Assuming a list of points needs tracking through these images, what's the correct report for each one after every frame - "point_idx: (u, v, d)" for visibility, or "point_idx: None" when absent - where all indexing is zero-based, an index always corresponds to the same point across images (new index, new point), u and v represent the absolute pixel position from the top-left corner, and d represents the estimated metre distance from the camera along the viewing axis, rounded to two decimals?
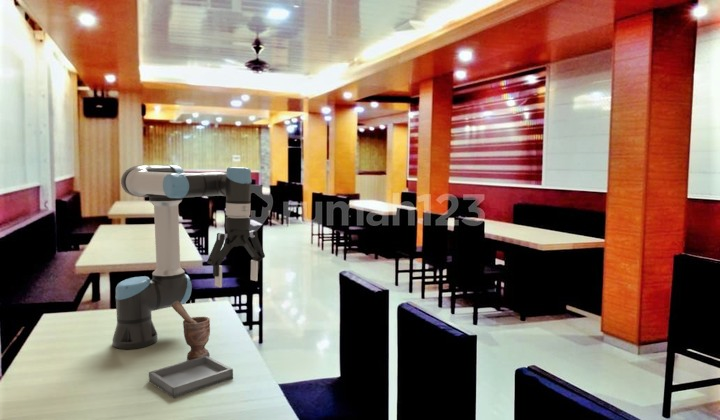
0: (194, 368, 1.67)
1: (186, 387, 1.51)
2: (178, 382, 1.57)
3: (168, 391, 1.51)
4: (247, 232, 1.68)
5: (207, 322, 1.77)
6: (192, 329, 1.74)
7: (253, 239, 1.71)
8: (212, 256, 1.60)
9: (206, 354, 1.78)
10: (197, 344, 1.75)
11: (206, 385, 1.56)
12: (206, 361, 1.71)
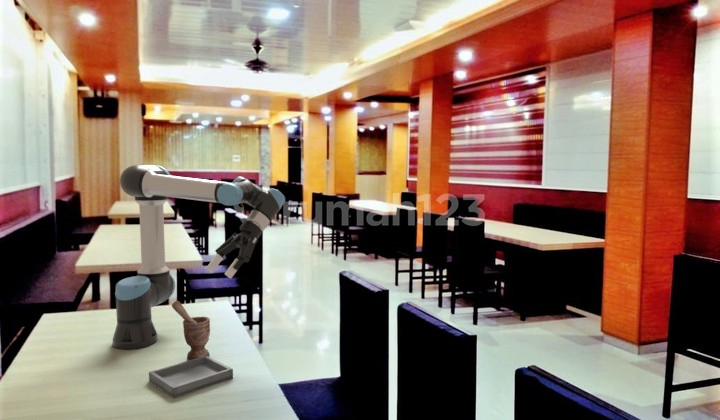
0: (194, 368, 1.67)
1: (186, 387, 1.51)
2: (178, 382, 1.57)
3: (168, 391, 1.51)
4: None
5: (207, 322, 1.77)
6: (192, 329, 1.74)
7: None
8: (249, 255, 1.80)
9: (206, 354, 1.78)
10: (197, 344, 1.75)
11: (206, 385, 1.56)
12: (206, 361, 1.71)
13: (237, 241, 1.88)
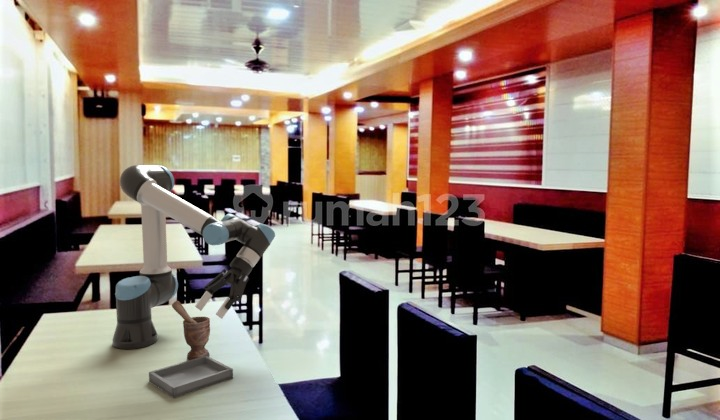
0: (194, 368, 1.67)
1: (186, 387, 1.51)
2: (178, 382, 1.57)
3: (168, 391, 1.51)
4: None
5: (207, 322, 1.77)
6: (192, 329, 1.74)
7: None
8: (240, 294, 1.78)
9: (206, 354, 1.78)
10: (197, 344, 1.75)
11: (206, 385, 1.56)
12: (206, 361, 1.71)
13: (227, 278, 1.86)
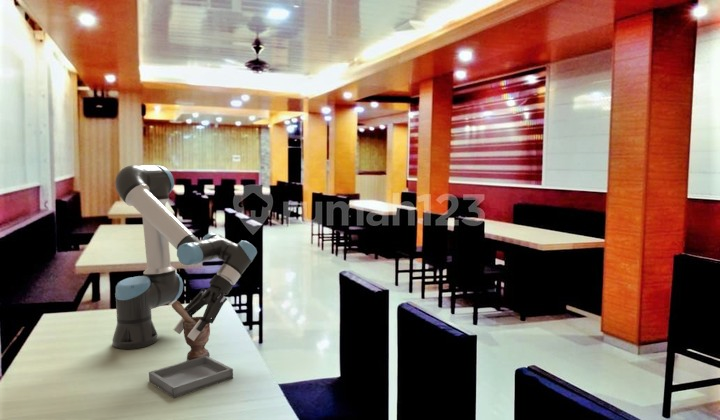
0: (194, 368, 1.67)
1: (186, 387, 1.51)
2: (178, 382, 1.57)
3: (168, 391, 1.51)
4: None
5: None
6: None
7: None
8: (214, 316, 1.74)
9: (206, 354, 1.78)
10: (197, 344, 1.75)
11: (206, 385, 1.56)
12: (206, 361, 1.71)
13: (206, 297, 1.81)
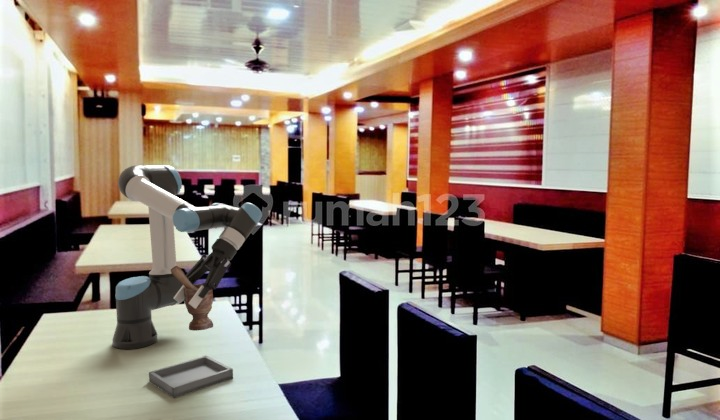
0: (194, 368, 1.67)
1: (186, 387, 1.51)
2: (178, 382, 1.57)
3: (168, 391, 1.51)
4: None
5: None
6: None
7: None
8: (217, 281, 1.60)
9: (210, 323, 1.64)
10: (200, 312, 1.61)
11: (206, 385, 1.56)
12: (206, 361, 1.71)
13: (209, 262, 1.67)
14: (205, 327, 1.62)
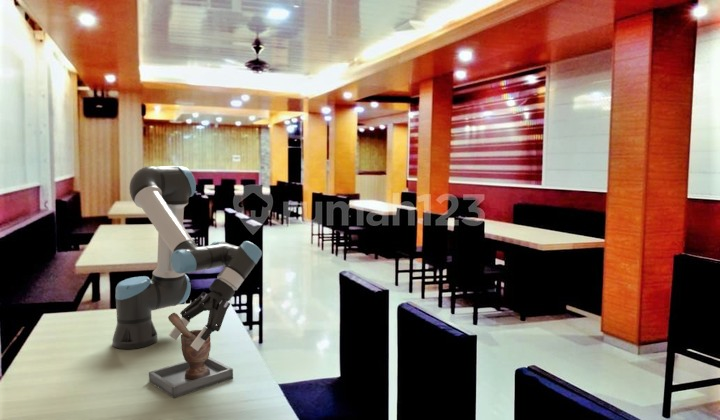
0: None
1: (186, 387, 1.51)
2: (178, 382, 1.57)
3: (168, 391, 1.51)
4: None
5: None
6: None
7: None
8: (219, 322, 1.56)
9: (206, 372, 1.60)
10: (196, 361, 1.58)
11: (206, 385, 1.56)
12: (206, 361, 1.71)
13: (206, 303, 1.64)
14: (201, 376, 1.59)
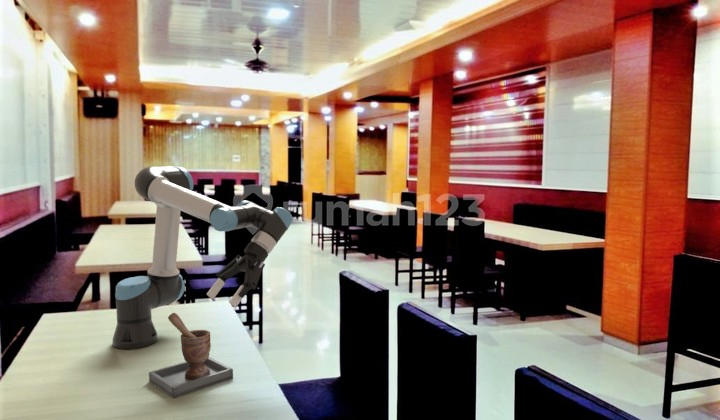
0: None
1: (186, 387, 1.51)
2: (178, 382, 1.57)
3: (168, 391, 1.51)
4: None
5: (207, 336, 1.59)
6: (191, 344, 1.57)
7: None
8: (256, 281, 1.64)
9: (206, 372, 1.60)
10: (196, 361, 1.58)
11: (206, 385, 1.56)
12: (206, 361, 1.71)
13: (241, 265, 1.72)
14: (201, 376, 1.59)
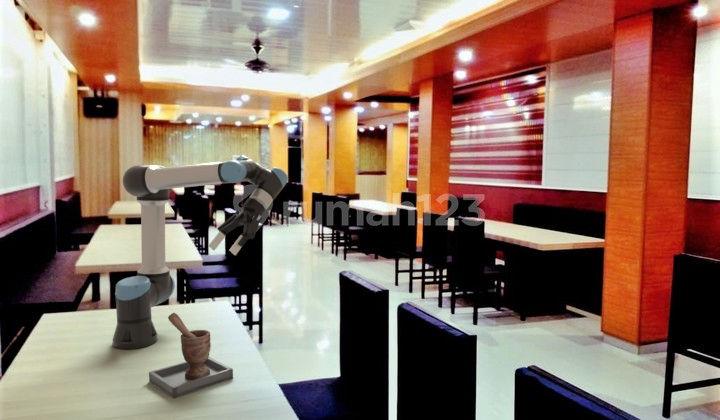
0: None
1: (186, 387, 1.51)
2: (178, 382, 1.57)
3: (168, 391, 1.51)
4: None
5: (207, 336, 1.59)
6: (191, 344, 1.57)
7: None
8: (254, 231, 1.79)
9: (206, 372, 1.60)
10: (196, 361, 1.58)
11: (206, 385, 1.56)
12: (206, 361, 1.71)
13: (240, 219, 1.87)
14: (201, 376, 1.59)
